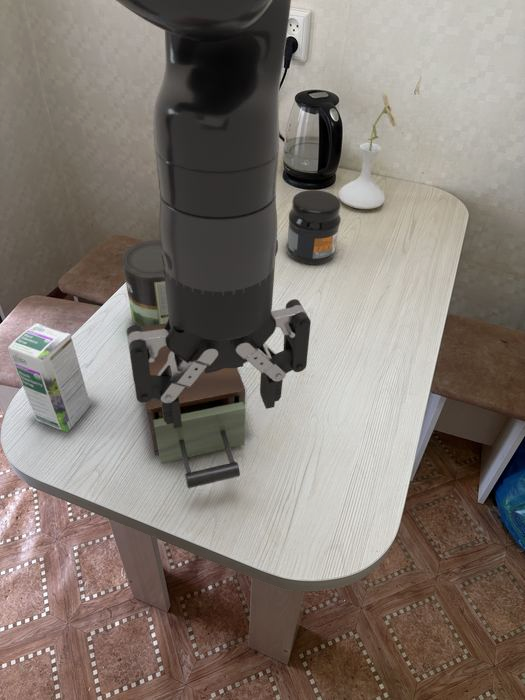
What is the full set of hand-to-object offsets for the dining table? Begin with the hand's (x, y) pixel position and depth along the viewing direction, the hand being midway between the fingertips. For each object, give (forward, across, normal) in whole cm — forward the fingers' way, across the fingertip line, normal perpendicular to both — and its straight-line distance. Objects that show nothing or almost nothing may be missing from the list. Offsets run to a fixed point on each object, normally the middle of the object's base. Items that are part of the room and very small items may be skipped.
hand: (222, 410), depth 45 cm
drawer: (+23, 0, -16) cm, 28 cm away
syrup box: (+24, +18, -25) cm, 39 cm away
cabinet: (+24, 0, -22) cm, 33 cm away
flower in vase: (+24, -54, -76) cm, 96 cm away
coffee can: (+24, +1, -41) cm, 47 cm away
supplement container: (+24, -33, -57) cm, 70 cm away
